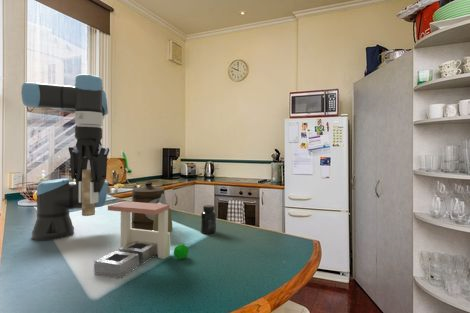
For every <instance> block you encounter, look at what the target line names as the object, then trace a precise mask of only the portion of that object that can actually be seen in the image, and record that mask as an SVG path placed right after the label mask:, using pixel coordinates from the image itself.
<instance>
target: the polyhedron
mask: <svg viewBox="0 0 470 313" xmlns="http://www.w3.org/2000/svg"><path fill="white" fill-rule="evenodd" d="M173 255H174V257H175V258H177V259H179V260H184V259H186V258H187V257H188V255H189V247H188V246H187V245H185V244H184V243H180V244H178V245H176V246H175V247H174V249H173Z"/></svg>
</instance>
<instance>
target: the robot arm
mask: <svg viewBox="0 0 470 313" xmlns="http://www.w3.org/2000/svg"><path fill="white" fill-rule="evenodd" d="M20 95H21V101H22V104H23V105H24V106H26V107H31V108H42V109H43V108H45V109H46V108H47V109H50V110H56V111H59V112H64V113H74V125H76V126H75V128H74V138H75V139H76V143H75V145H74V146H70V147H68V152H69V156H70V159H69V160H70V176H71V179H72V180H73V179H74V181H71V180H70V178H67V177H65V178H55V179H49V180H46V181H42V182H40V183H38V184H37V186H36V194H35V195H36V219H35V223H34V224H33V225H34V226H33V229H32V230H31V239H32V240H35V241H53V240H60V239H63V238H68V237H70V236H72V235H74V234H75V227H74V225H73V222H72V219H71V216H70V210H76V209H77V210H78V209H82V170H83V169H91V174H92V181H91V182H90V204H93V203H95V208H100V207H101V208H103V206H105V204H106V202H107V194H108V187H109V181H108V180H107V171H108V170H107V169H108V156H109V152H110V148H109V147H105V146H103V145H102V139H103V128H102V126H103V120H104V119H105V116H106V115H108V114H109V112H108V111H109V110H108V99H107V94H106V92H105V91H104V87H103V79H102V78H101V77H100V76H98V75H94V74H87V73H86V74H85V73H84V74H83V73H82V74H77V75H76V76H75V80H74V86H73V85H60V84H59V85H58V84H51V83H49V84H48V83H40V82H35V81H34V82H23V83H22V86H21V94H20Z"/></svg>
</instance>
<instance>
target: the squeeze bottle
mask: <svg viewBox="0 0 470 313" xmlns="http://www.w3.org/2000/svg"><path fill="white" fill-rule="evenodd" d="M157 204H166V205H169V206H170V204H169V202H167V199H166V194H165V193H164V194H162V196H161V200H160V202H159V203H157ZM173 229H174V228H173V218H172V209H171V208H170V207H169V209H168V232H169V233H170V235H171V234H172V231H173ZM153 230H154V231H158V214H156V215H154V223H153Z"/></svg>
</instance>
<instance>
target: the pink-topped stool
mask: <svg viewBox="0 0 470 313" xmlns="http://www.w3.org/2000/svg"><path fill="white" fill-rule="evenodd" d="M169 208H170V204H169V205H166V204H153V203H141V202H132V201H127V200H124V201H121V202H120V201H119V202H118V203H113V204H109V205H107V211H112V212H120V248H122V247H123V246H125V245H127V244H129V243H131V242H133V241H141V242H149V243H157V254H158V255H157V258H158V259H164V260H165V258H166V259H167V257H170V256H171V234H170V233H169V232H168V209H169ZM132 213H142V214H153V215H156V214H158V231H151V230H142V229H133V228H131V222H132V219H131V217H132Z"/></svg>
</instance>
